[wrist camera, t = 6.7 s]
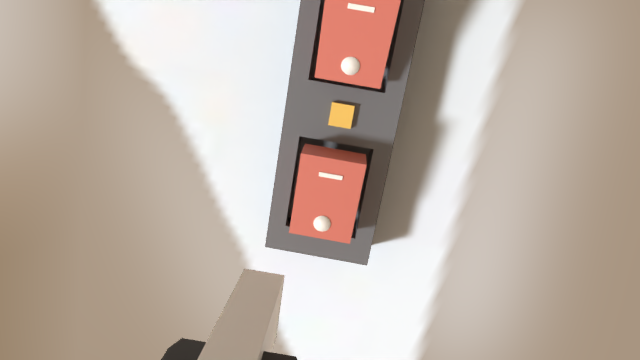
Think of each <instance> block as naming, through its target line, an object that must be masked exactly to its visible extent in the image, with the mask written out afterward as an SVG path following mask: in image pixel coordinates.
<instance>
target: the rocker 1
mask: <svg viewBox="0 0 640 360" xmlns="http://www.w3.org/2000/svg"><path fill="white" fill-rule="evenodd" d="M400 2H401V0H325V3H324V10H323V18H322V25H321V33H320V40H319V48H318V55H317V63H316V70H315V78H320V79H326V80H332V81H337V82H343V83H349V84H354V85H360V86H366V87H372V88H377V89H380V88H381V83H382V79H383V75H384V70H385V66H386V62H387V57H388V53H389V49H390V45H391V40H392V36H393V32H394V27H395V23H396V19H397V15H398V10H399V6H400Z"/></svg>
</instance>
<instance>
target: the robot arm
mask: <svg viewBox="0 0 640 360" xmlns="http://www.w3.org/2000/svg"><path fill="white" fill-rule="evenodd" d="M283 282H284V275H279V274H273V273H267V272H261V271H255V270H249V269H244V271H243V272H242V274H241V276H240V279H239V280H238V282H237V284H236V286H235V288H234V290H233V292H232V294H231V296H230V298H229V300H228V301H227V303H226V305H225V307H224V309H223V311H222V313H221V315H220V317H219V319H218V321H217V323H216V325H215V326H214V329H213V330H212V332H211V334H210V336H209V338H208V340H207V342H201V341H195V340H189V339H183V338H182V339H180V340H179V341H178V342H176V343H175V344H174V345H172V346H171V347H169V348H168V350H167V351H166V353H165V354H164V356H163V358H162V359H161V360H297V358H296V357H294V356H289V355H283V354H277V353H272V351H273V347H274V344H275V340H276V335H277V328H278V320H279V312H280V305H281V297H282V290H283Z"/></svg>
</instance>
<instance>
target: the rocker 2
mask: <svg viewBox="0 0 640 360" xmlns="http://www.w3.org/2000/svg"><path fill="white" fill-rule="evenodd" d="M366 166H367V163H366V154H362V153H356V152H350V151H345V150H339V149H333V148H328V147H322V146H316V145H311V144H305V145H304V147H303V150H302V152H301V156H300V163H299V170H298V176H297V183H296V189H295V196H294V203H293V209H292V216H291V222H290V229H289V233H293V234H298V235H304V236H309V237H315V238H320V239H326V240H331V241H337V242H342V243H348V244H350V241H351V236H352V232H353V227H354V222H355V218H356V213H357V208H358V203H359V199H360V194H361V189H362V185H363V180H364V175H365V170H366Z"/></svg>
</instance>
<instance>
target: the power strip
mask: <svg viewBox="0 0 640 360" xmlns="http://www.w3.org/2000/svg"><path fill="white" fill-rule="evenodd" d="M424 1H425V0H401V2H400V6H399V10H398V15H397V19H396V23H395V27H394V32H393V36H392V40H391V45H390V49H389V53H388V57H387V62H386V66H385V70H384V75H383V79H382V83H381V88H380V89H377V88H372V87H366V86H360V85H354V84H349V83H343V82H337V81H332V80H326V79H320V78H315V70H316V63H317V55H318V48H319V40H320V33H321V25H322V18H323V10H324V3H325V0H301V2H300V9H299V16H298V23H297V30H296V37H295V44H294V51H293V57H292V64H291V71H290V78H289V85H288V92H287V99H286V106H285V113H284V120H283V127H282V134H281V141H280V147H279V154H278V161H277V168H276V175H275V182H274V189H273V196H272V203H271V210H270V217H269V224H268V231H267V237H266V244H265V247H269V248H274V249H280V250H285V251H291V252H296V253H302V254H307V255H313V256H318V257H324V258H329V259H335V260H340V261H346V262H351V263H357V264H362V265H367V263H368V259H369V254H370V249H371V245H372V240H373V236H374V231H375V226H376V222H377V217H378V212H379V208H380V203H381V199H382V194H383V189H384V185H385V180H386V176H387V171H388V166H389V162H390V157H391V153H392V148H393V143H394V139H395V134H396V130H397V125H398V120H399V116H400V111H401V107H402V102H403V97H404V93H405V88H406V84H407V79H408V74H409V70H410V65H411V61H412V56H413V51H414V47H415V42H416V38H417V33H418V28H419V24H420V19H421V15H422V10H423V5H424ZM305 144H311V145H316V146H322V147H328V148H333V149H339V150H345V151H350V152H356V153H362V154H366V163H367V166H366V170H365V175H364V180H363V185H362V189H361V194H360V199H359V203H358V208H357V213H356V218H355V222H354V227H353V232H352V236H351V241H350V244H348V243H342V242H337V241H331V240H326V239H320V238H315V237H309V236H304V235H298V234H293V233H289V229H290V222H291V216H292V209H293V203H294V196H295V189H296V183H297V176H298V170H299V163H300V156H301V152H302V150H303V147H304V145H305Z"/></svg>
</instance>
